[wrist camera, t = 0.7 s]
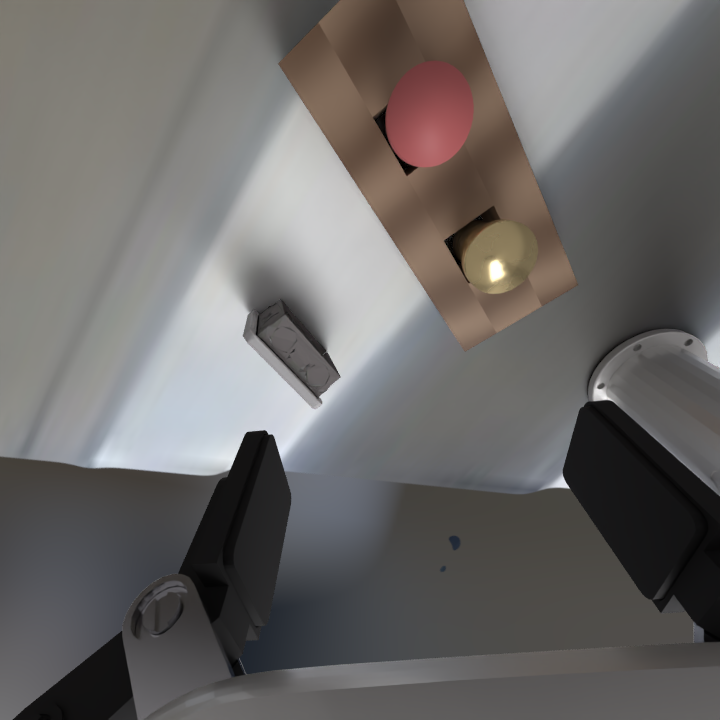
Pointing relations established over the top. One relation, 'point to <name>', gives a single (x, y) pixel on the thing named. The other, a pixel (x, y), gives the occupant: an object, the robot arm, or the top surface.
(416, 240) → the plug block
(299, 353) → the electrical switch
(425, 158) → the oxblood plug
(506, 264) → the brass plug
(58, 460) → the top surface
